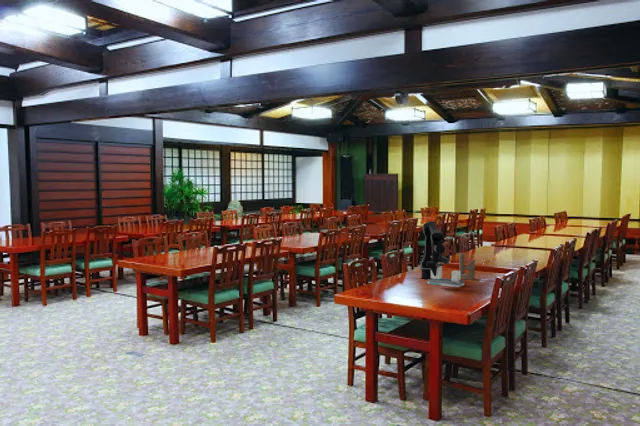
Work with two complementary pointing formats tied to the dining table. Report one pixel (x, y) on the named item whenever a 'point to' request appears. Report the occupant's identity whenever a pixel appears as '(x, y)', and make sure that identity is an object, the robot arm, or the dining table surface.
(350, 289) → the dining table surface
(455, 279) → the rail
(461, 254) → the beige frame piece
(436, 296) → the dining table surface
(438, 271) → the white rectangular block
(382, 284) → the dining table surface
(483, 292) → the dining table surface
